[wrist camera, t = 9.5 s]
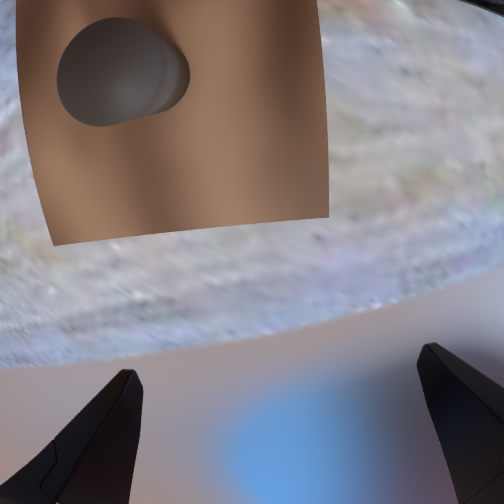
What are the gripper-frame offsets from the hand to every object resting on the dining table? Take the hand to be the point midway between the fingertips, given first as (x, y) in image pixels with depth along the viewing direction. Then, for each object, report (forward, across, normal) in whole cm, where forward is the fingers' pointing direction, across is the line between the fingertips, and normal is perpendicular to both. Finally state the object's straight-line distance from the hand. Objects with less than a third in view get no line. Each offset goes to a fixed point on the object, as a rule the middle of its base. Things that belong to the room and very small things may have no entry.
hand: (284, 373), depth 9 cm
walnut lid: (+8, +4, -9) cm, 13 cm away
